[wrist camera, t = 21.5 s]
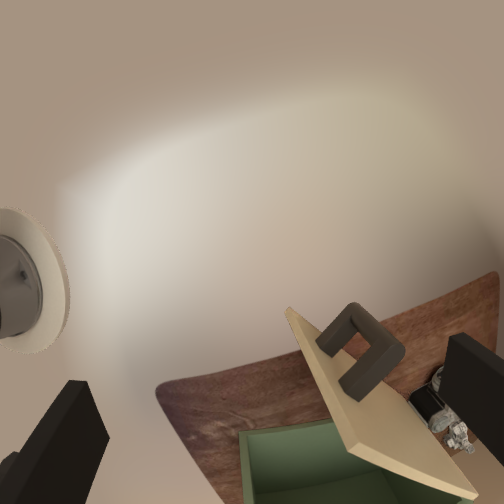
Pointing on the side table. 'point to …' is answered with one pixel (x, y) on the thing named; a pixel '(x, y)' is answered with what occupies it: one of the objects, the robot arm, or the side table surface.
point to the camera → (432, 405)
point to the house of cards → (458, 437)
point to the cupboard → (321, 471)
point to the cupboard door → (374, 400)
